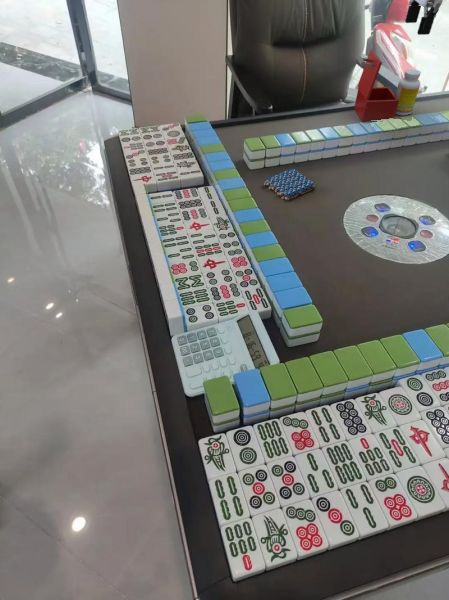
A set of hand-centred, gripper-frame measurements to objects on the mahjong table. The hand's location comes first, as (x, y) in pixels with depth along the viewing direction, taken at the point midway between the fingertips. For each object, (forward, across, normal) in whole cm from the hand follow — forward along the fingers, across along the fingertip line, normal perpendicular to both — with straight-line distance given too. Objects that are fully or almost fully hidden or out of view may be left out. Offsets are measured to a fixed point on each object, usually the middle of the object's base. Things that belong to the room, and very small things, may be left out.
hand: (416, 28), depth 118 cm
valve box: (+28, +10, +2) cm, 30 cm away
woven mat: (+28, -31, +37) cm, 56 cm away
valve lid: (+16, +9, +6) cm, 19 cm away
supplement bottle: (+28, +11, -8) cm, 31 cm away
